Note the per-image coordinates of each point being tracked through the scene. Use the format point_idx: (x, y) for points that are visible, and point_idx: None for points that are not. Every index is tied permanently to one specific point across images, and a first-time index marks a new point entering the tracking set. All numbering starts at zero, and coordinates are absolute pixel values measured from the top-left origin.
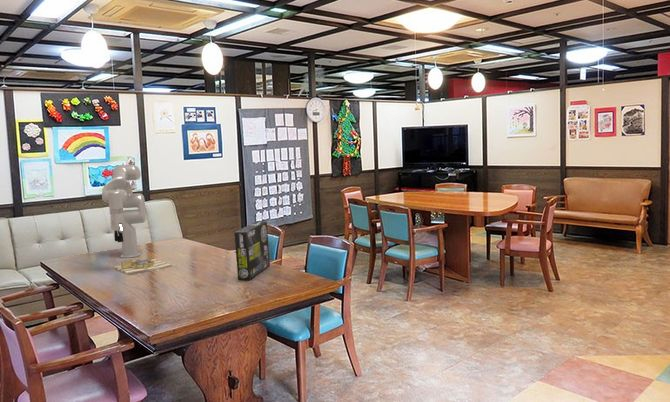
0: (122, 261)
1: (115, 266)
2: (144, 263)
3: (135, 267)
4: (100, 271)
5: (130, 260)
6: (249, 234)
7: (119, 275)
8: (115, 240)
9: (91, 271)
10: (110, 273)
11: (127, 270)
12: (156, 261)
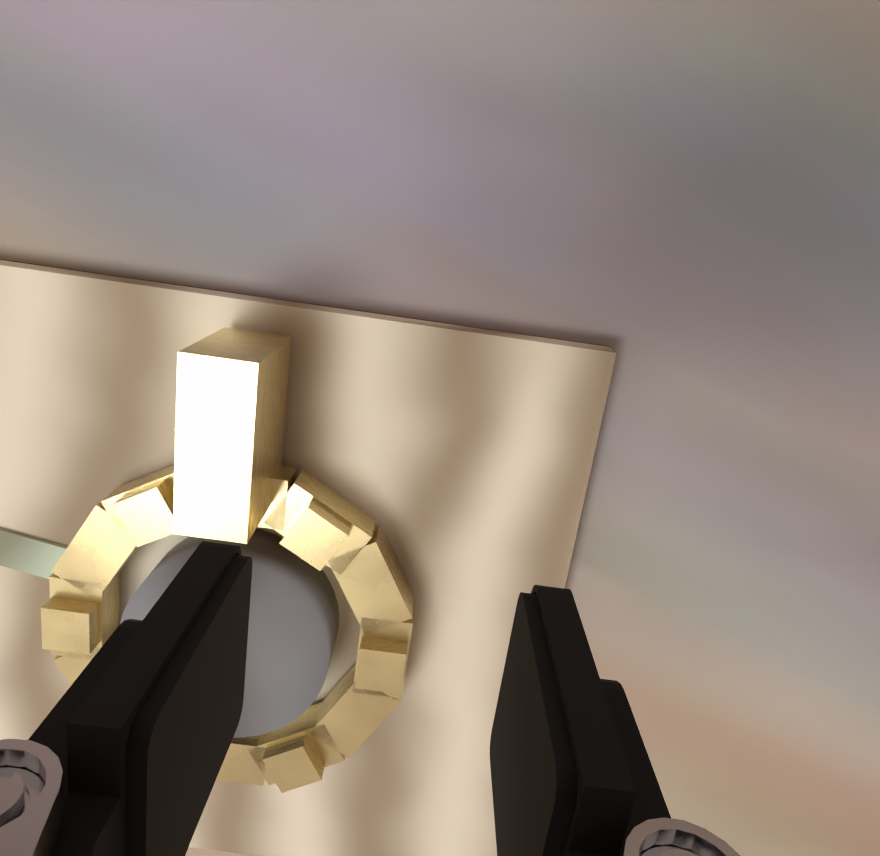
0: (179, 353)
1: (573, 370)
2: (59, 607)
3: (138, 480)
4: (600, 105)
5: (178, 495)
6: None
7: (21, 150)
8: (521, 606)
9: (760, 4)
10: (294, 134)
11: (103, 334)
12: (327, 826)
